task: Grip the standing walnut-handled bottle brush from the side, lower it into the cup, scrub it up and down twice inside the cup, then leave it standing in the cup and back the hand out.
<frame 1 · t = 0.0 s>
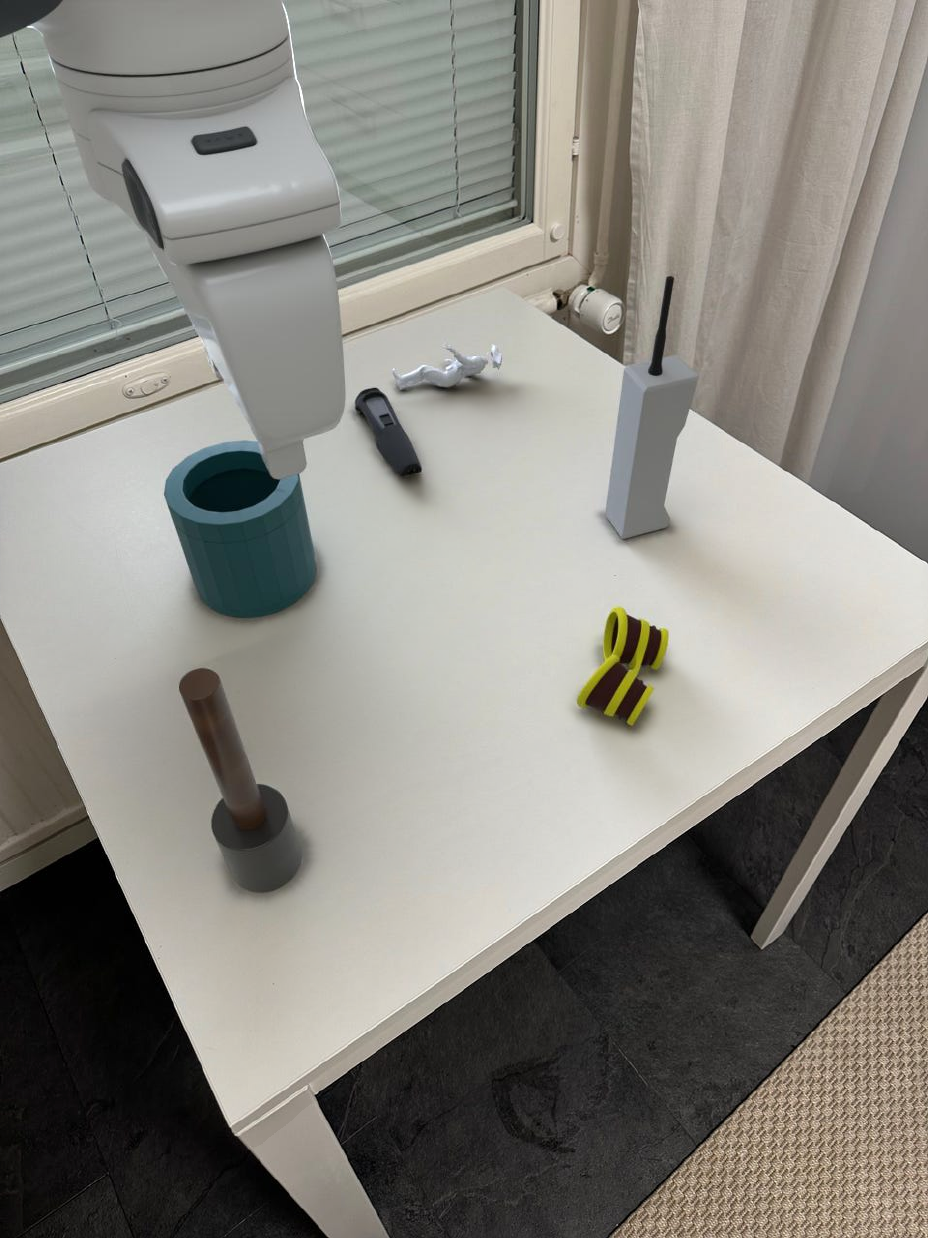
hand: (256, 417, 46), 31 cm above the table, tool pointing down, fingers open, 8 cm apart
brush: (266, 859, 63), on the table
opera glasses: (622, 684, 73), on the table
soldier figure: (447, 386, 103), on the table
cup: (256, 574, 82), on the table
electric trimmer: (391, 443, 96), on the table
vintage mobile phone: (636, 524, 86), on the table
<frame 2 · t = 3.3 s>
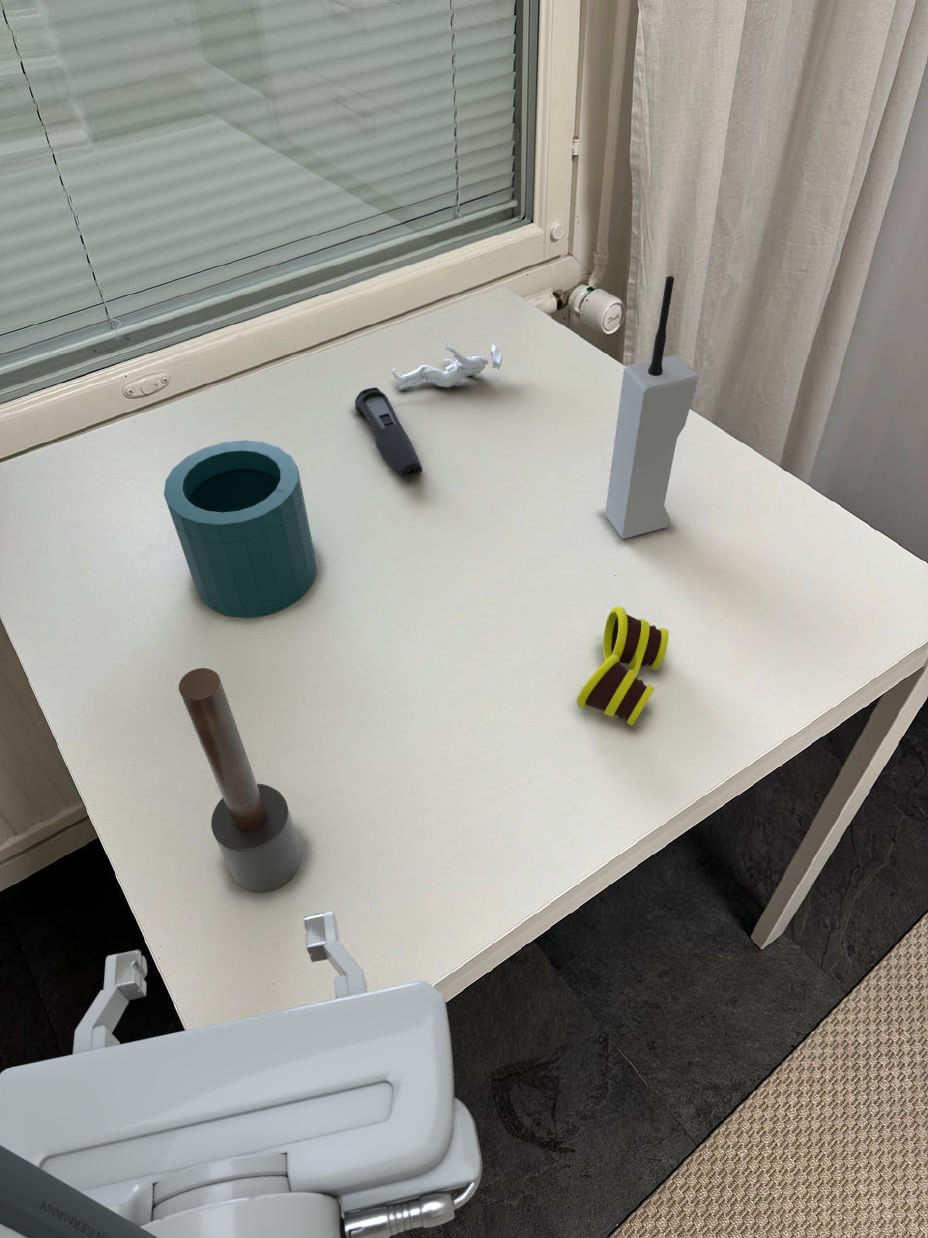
hand: (225, 937, 44), 15 cm above the table, tool horizontal, fingers open, 8 cm apart
nothing on the table moved.
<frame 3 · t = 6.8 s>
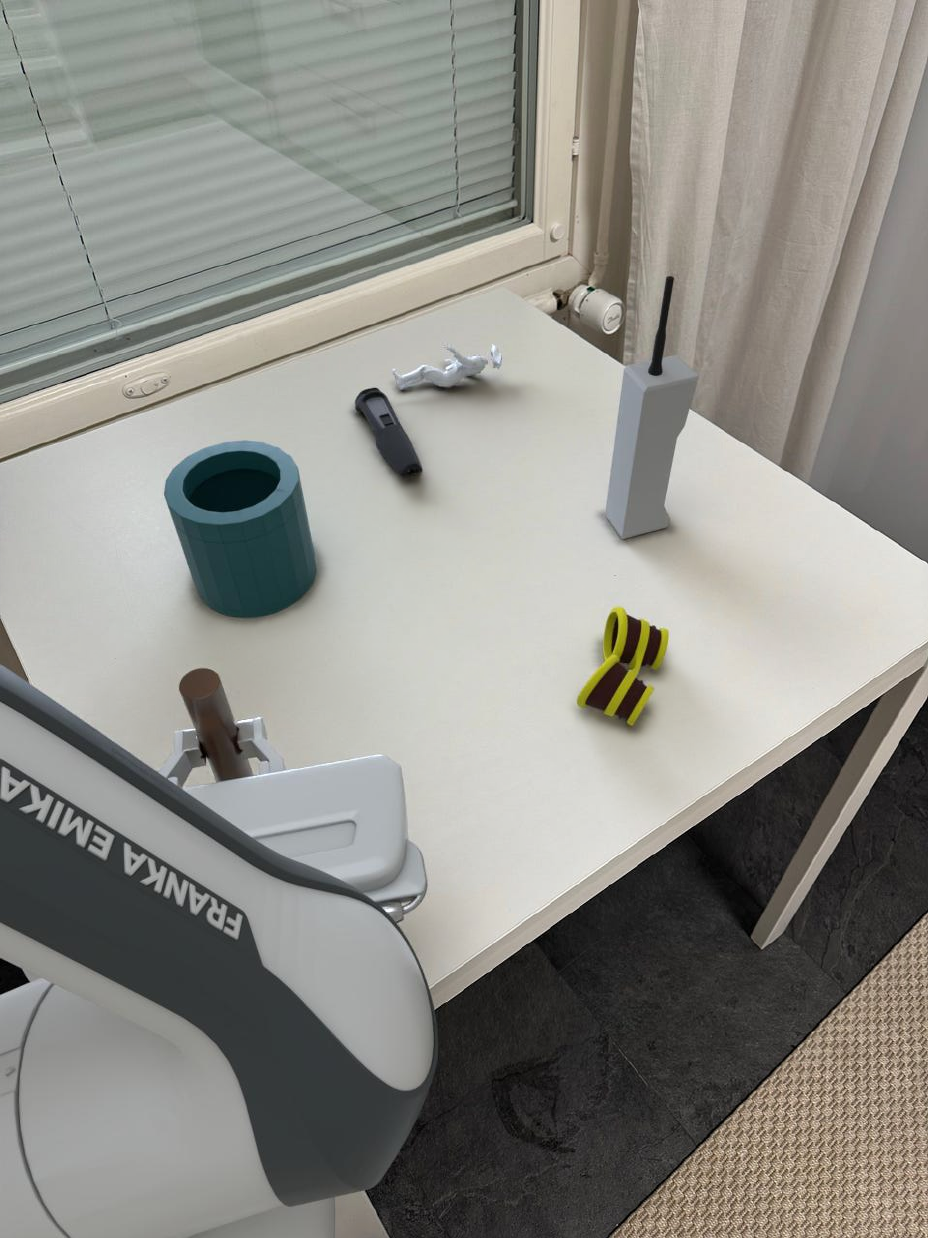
hand: (220, 729, 53), 15 cm above the table, tool horizontal, fingers closed on brush, 2 cm apart
brush: (266, 859, 63), on the table, touching gripper
everything else where it was.
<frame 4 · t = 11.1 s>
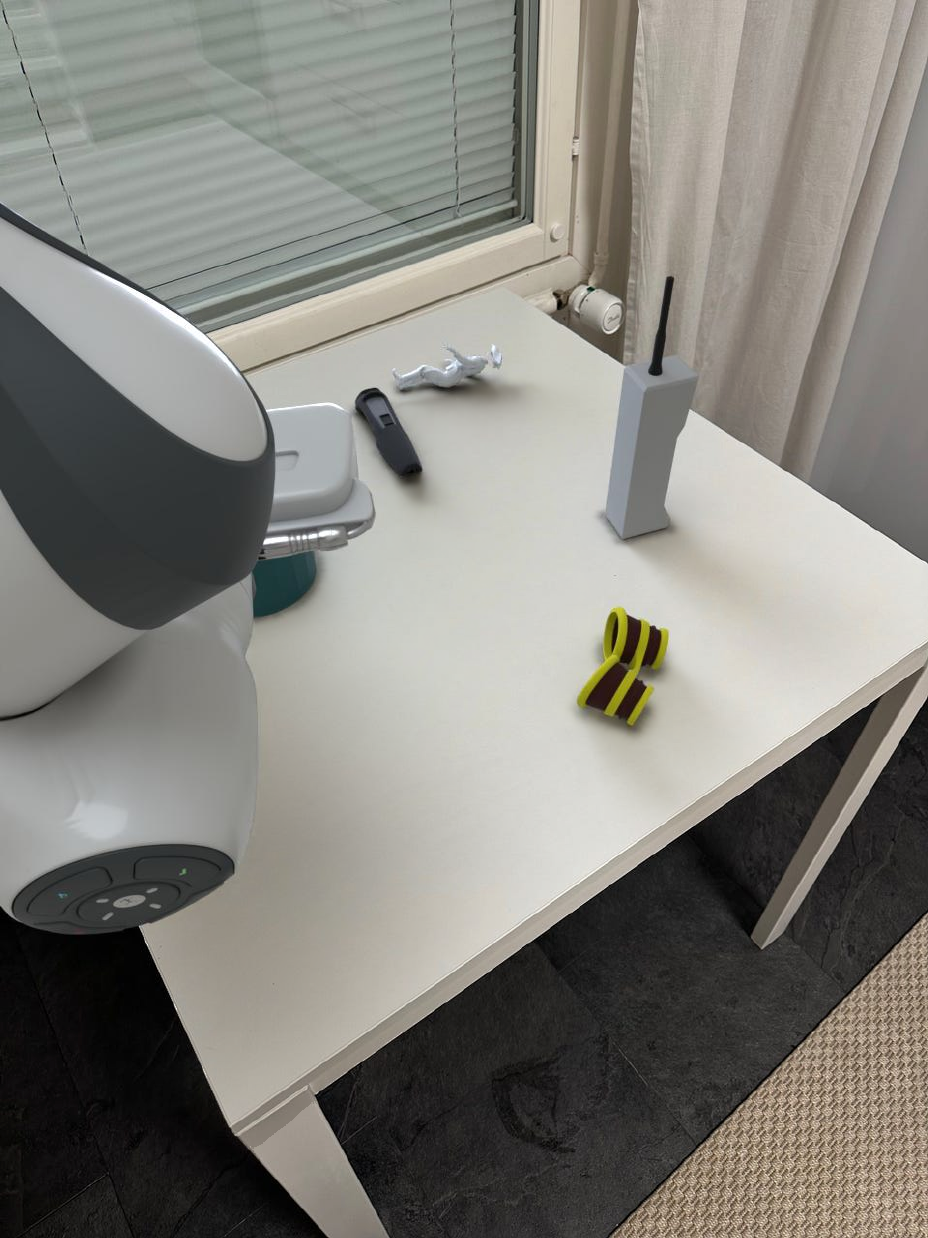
hand: (161, 398, 49), 30 cm above the table, tool horizontal, fingers closed on brush, 2 cm apart
brush: (218, 594, 59), point 15 cm above the table, touching gripper
everything else where it was.
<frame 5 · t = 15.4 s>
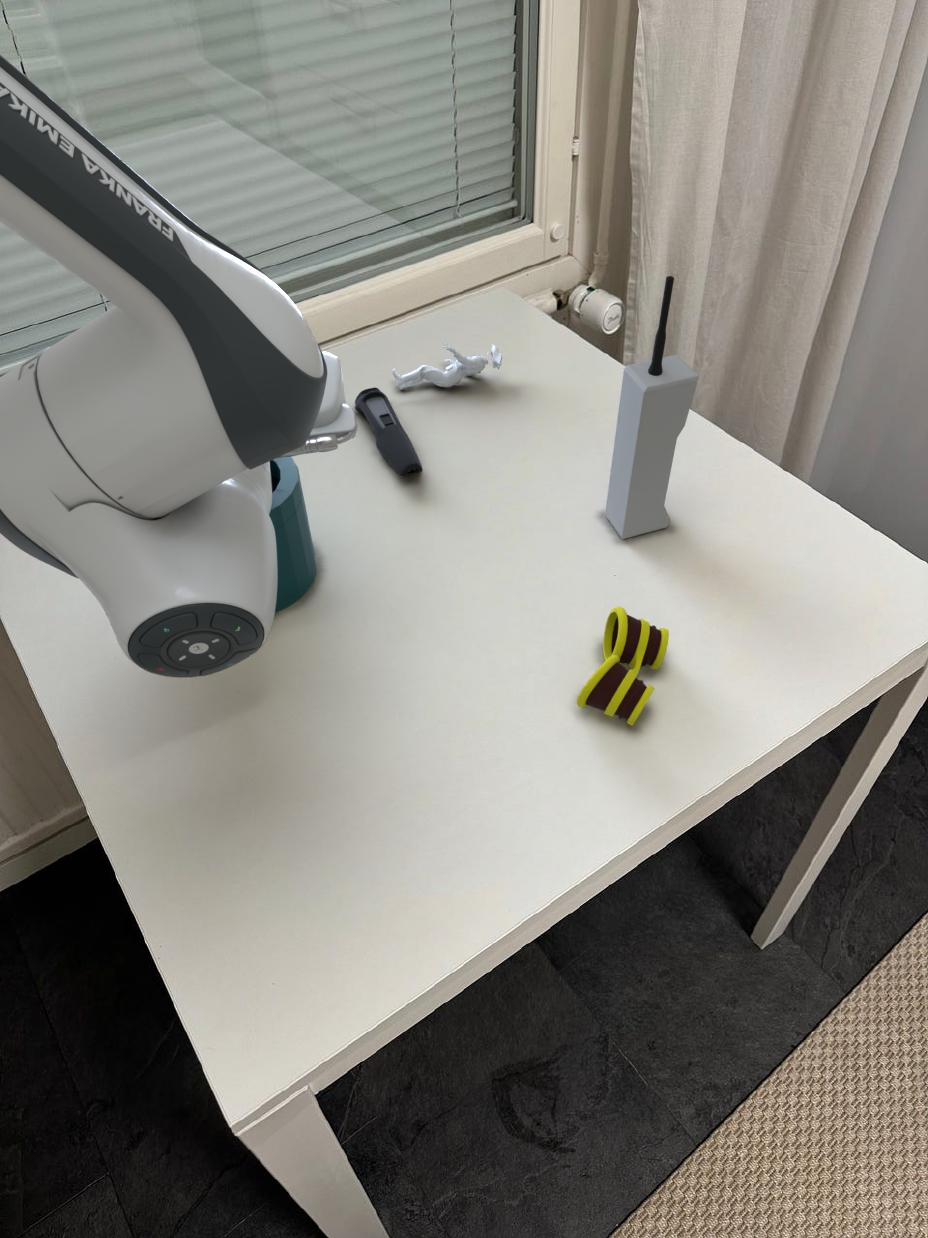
hand: (200, 352, 66), 22 cm above the table, tool horizontal, fingers closed on brush, 2 cm apart
brush: (241, 509, 76), point 8 cm above the table, touching gripper
everything else where it was.
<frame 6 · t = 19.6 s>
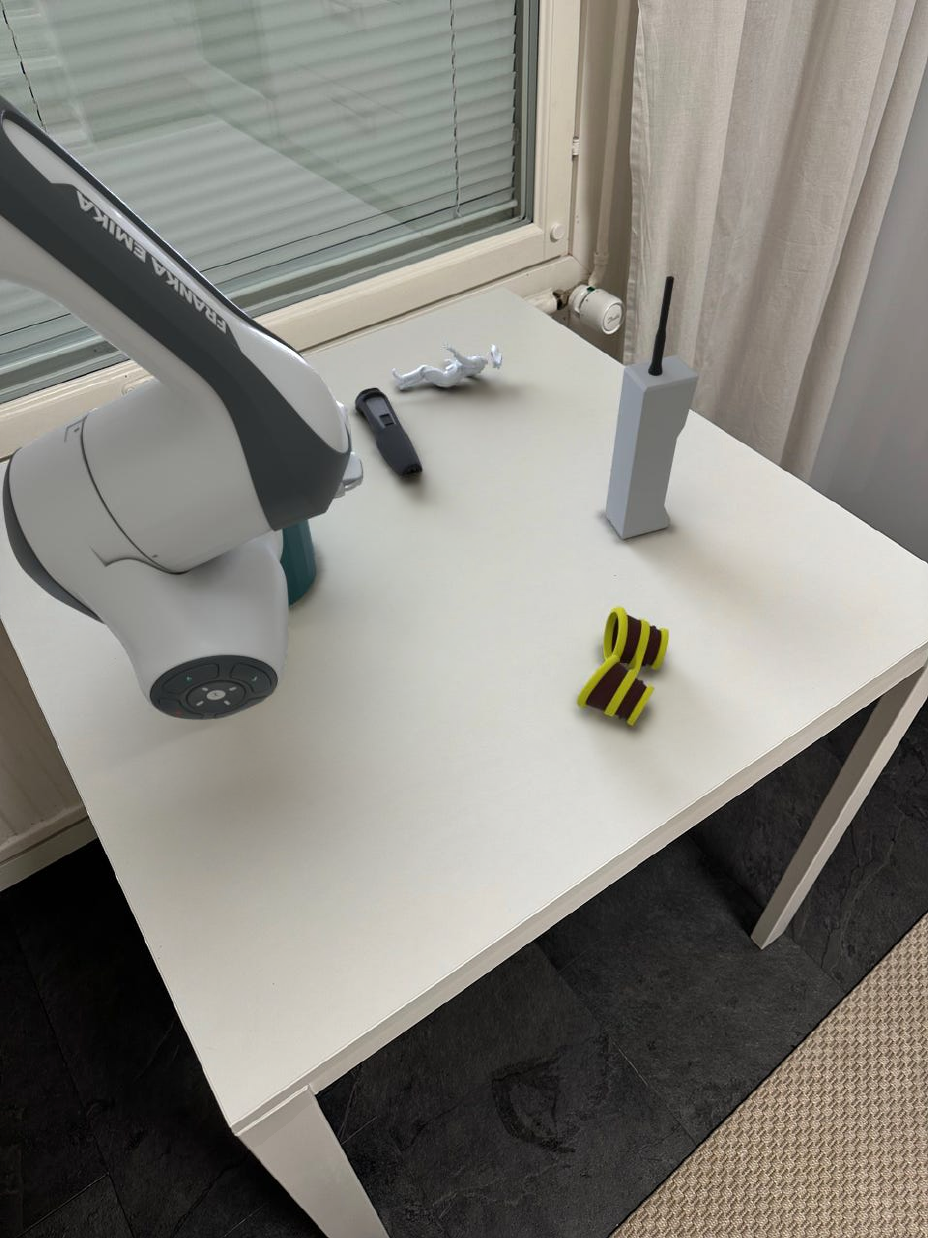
hand: (212, 398, 69), 18 cm above the table, tool horizontal, fingers closed on brush, 2 cm apart
brush: (250, 543, 79), point 4 cm above the table, touching gripper
everything else where it was.
when the fingers open (15 cm above the table, at t = 23.9 s): brush stays where it is, resting on cup.
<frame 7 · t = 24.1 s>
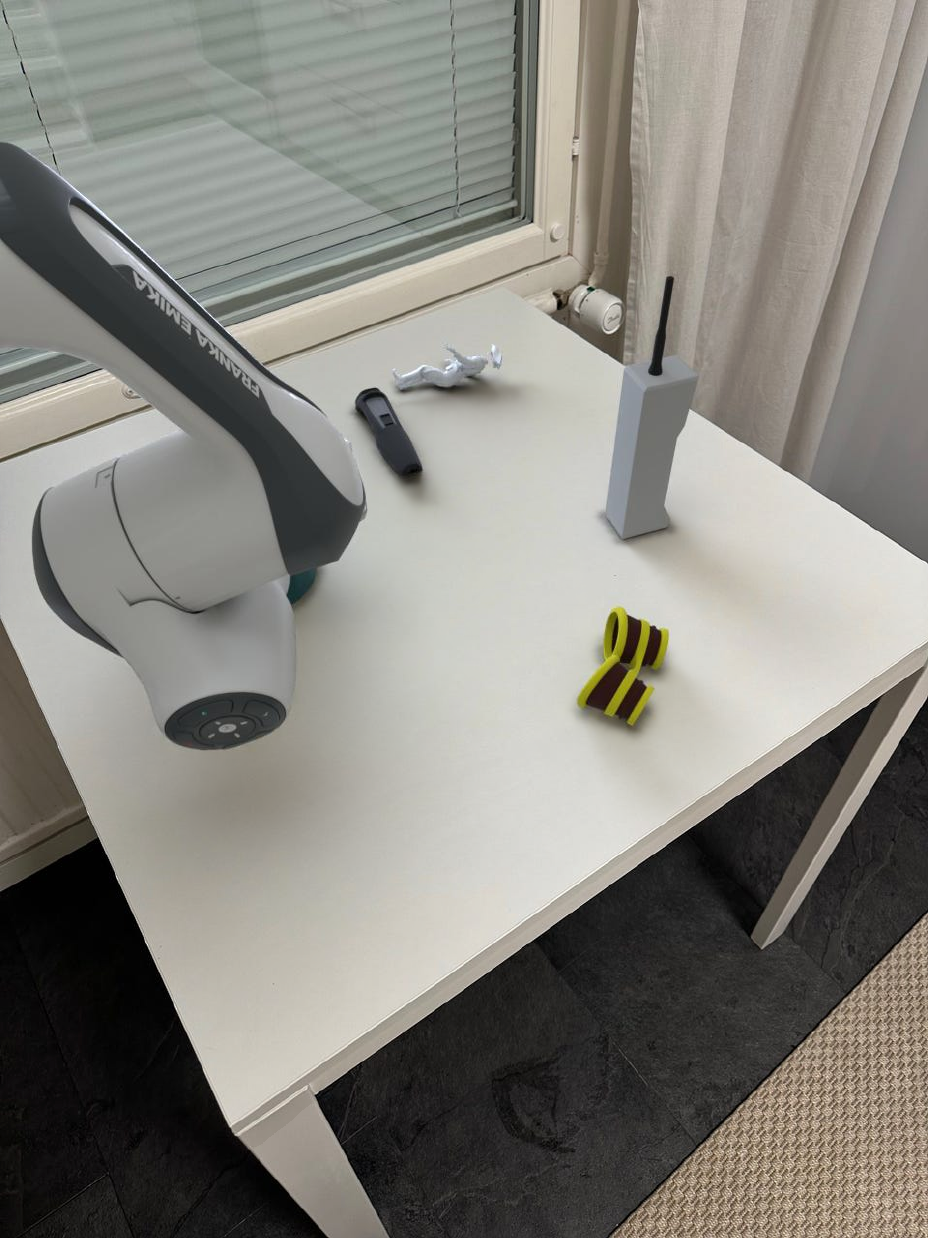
hand: (221, 431, 72), 15 cm above the table, tool horizontal, fingers open, 3 cm apart
brush: (256, 566, 81), point 1 cm above the table, touching cup
everything else where it was.
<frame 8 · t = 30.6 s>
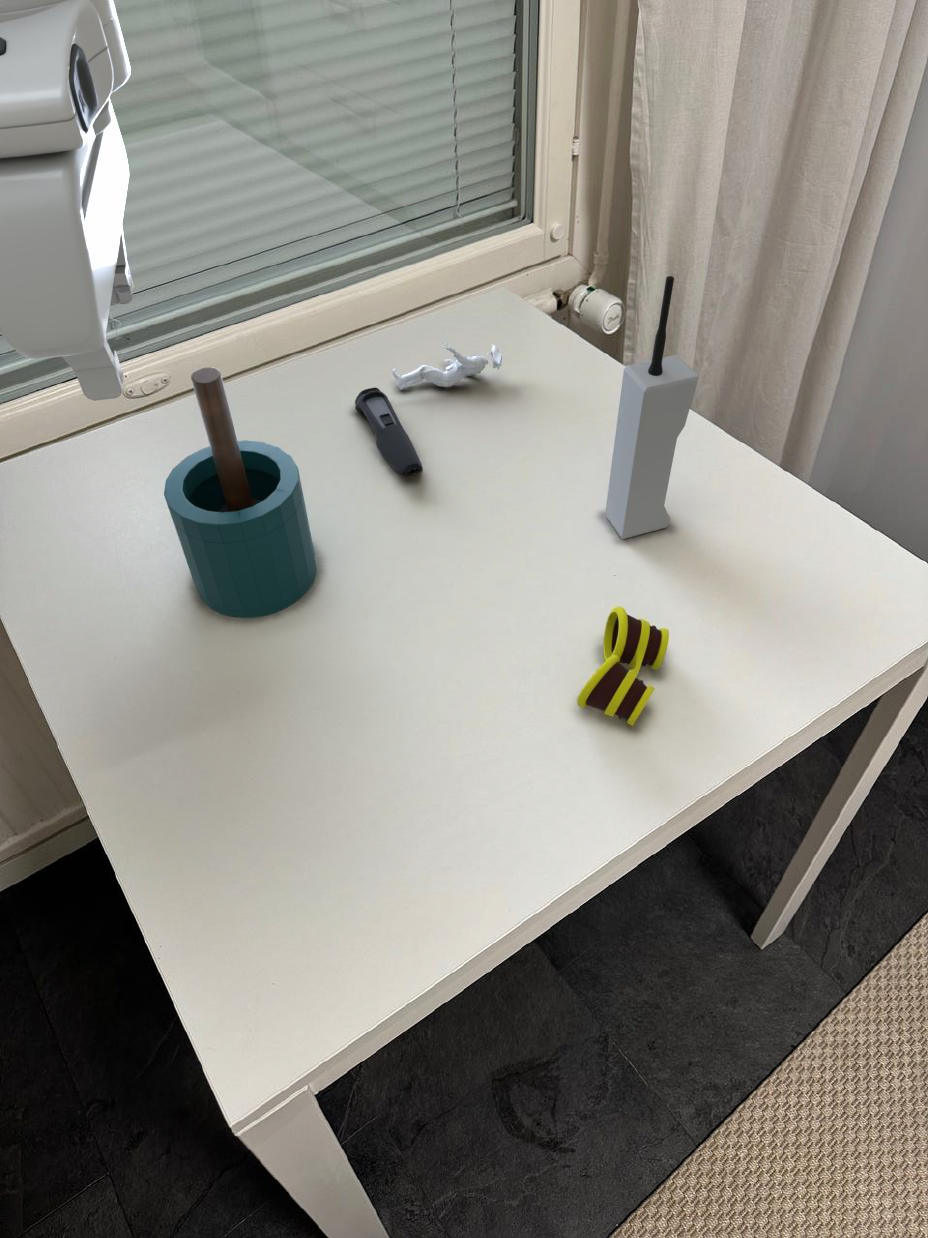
hand: (113, 341, 47), 33 cm above the table, tool pointing down, fingers open, 8 cm apart
nothing on the table moved.
at the end: brush 0.1 cm off-centre in the cup, point 1.0 cm above the cup's base; the gripper is holding nothing; brush tilted 0° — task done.
